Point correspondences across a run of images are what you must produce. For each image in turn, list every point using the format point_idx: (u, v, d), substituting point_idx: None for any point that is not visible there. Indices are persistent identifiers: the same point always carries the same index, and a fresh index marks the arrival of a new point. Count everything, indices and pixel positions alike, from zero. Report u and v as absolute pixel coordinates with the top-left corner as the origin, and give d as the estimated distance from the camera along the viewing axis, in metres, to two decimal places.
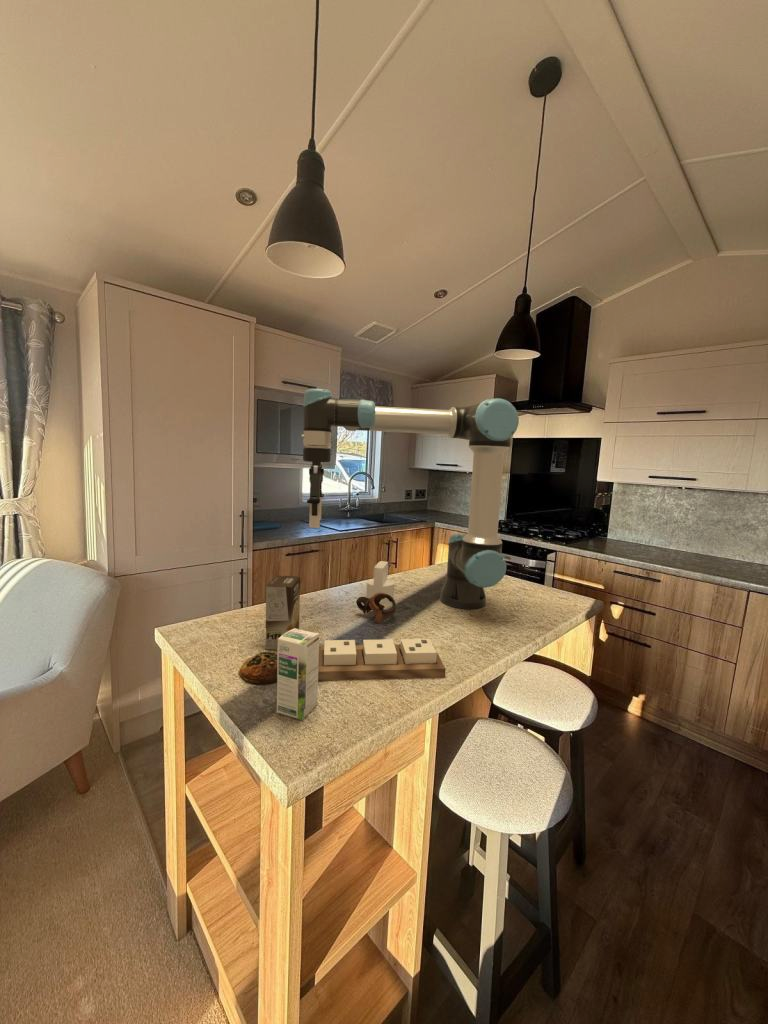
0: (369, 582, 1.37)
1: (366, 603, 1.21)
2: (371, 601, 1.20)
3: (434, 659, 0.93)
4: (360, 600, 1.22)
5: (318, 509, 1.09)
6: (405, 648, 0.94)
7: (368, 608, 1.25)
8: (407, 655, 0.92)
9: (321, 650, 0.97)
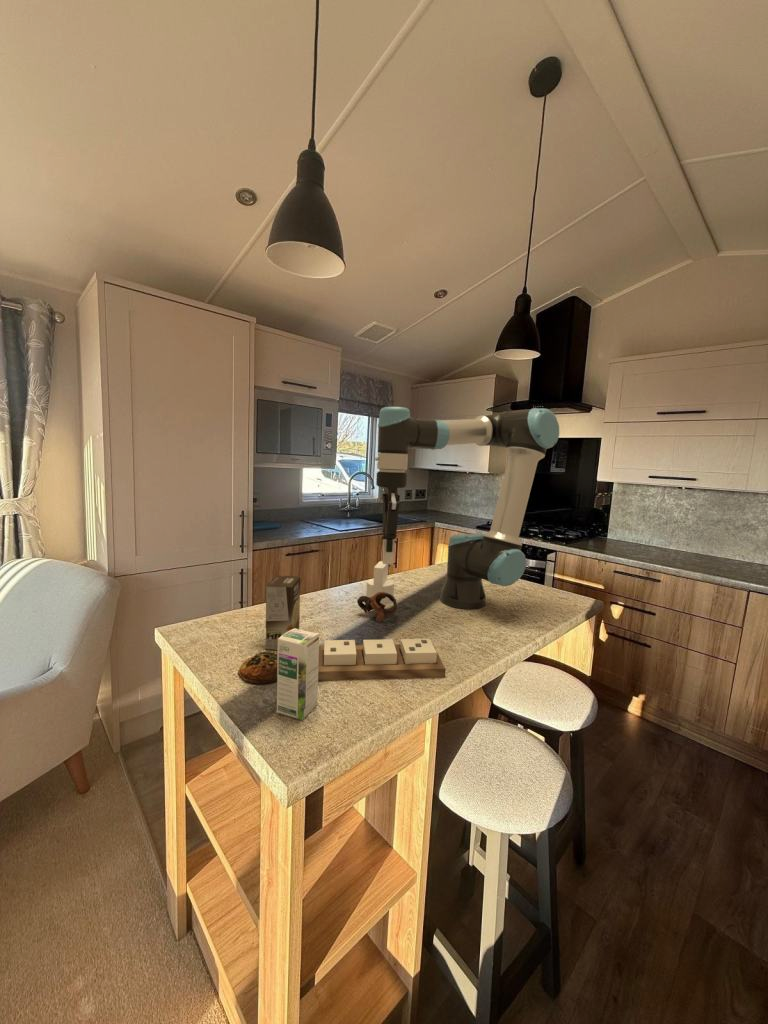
0: (369, 582, 1.37)
1: (367, 602, 1.22)
2: (372, 600, 1.21)
3: (434, 659, 0.93)
4: (361, 599, 1.22)
5: (392, 545, 1.05)
6: (405, 648, 0.94)
7: (369, 607, 1.26)
8: (407, 655, 0.92)
9: (321, 650, 0.97)
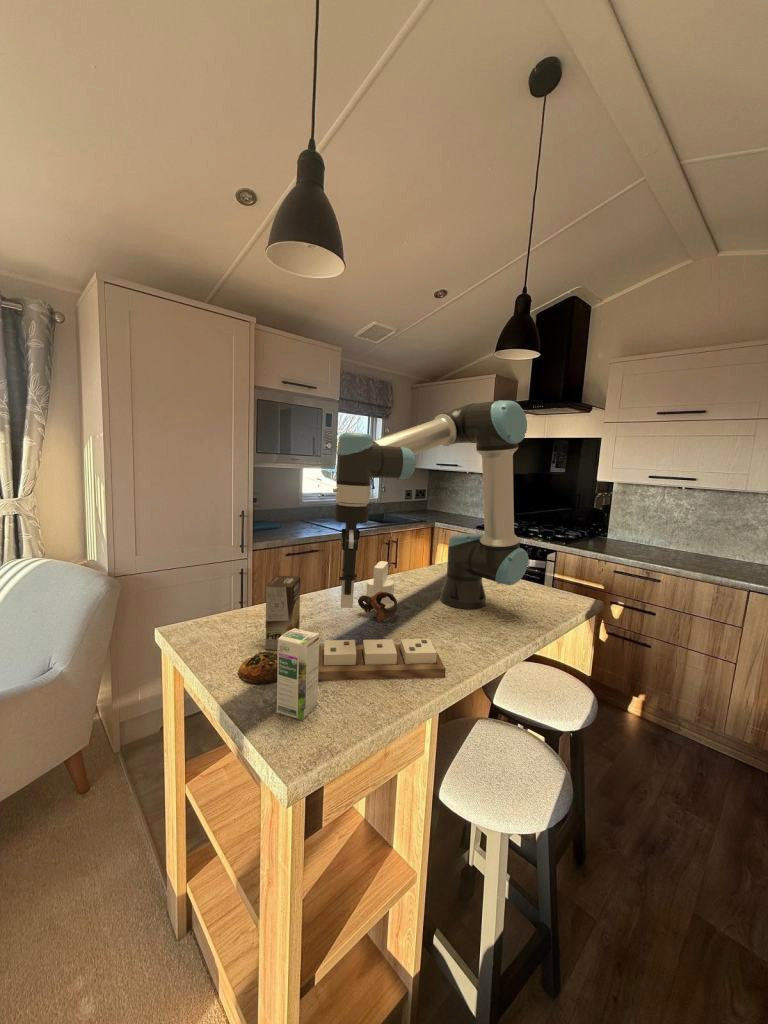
0: (369, 582, 1.37)
1: (368, 602, 1.22)
2: (373, 600, 1.21)
3: (434, 659, 0.93)
4: (362, 599, 1.23)
5: (352, 586, 0.93)
6: (405, 648, 0.94)
7: (369, 607, 1.26)
8: (407, 655, 0.92)
9: (321, 650, 0.97)
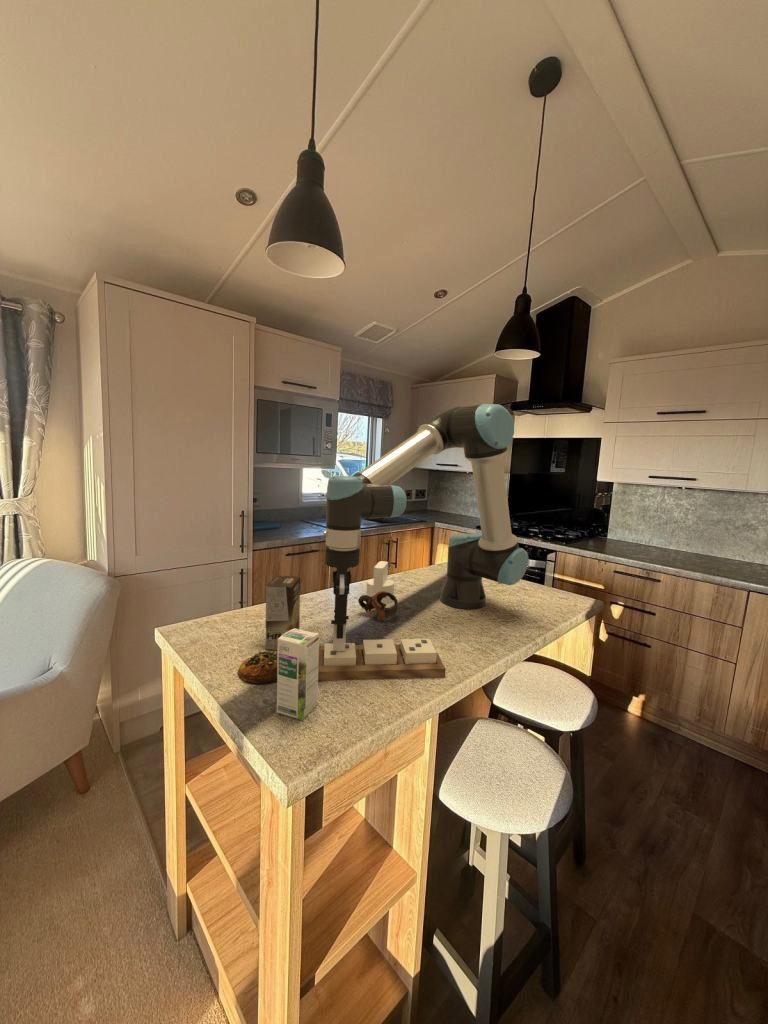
0: (369, 582, 1.37)
1: (368, 601, 1.22)
2: (373, 599, 1.21)
3: (434, 659, 0.93)
4: (362, 598, 1.23)
5: (344, 630, 0.92)
6: (405, 648, 0.94)
7: (370, 606, 1.27)
8: (407, 655, 0.92)
9: (321, 650, 0.97)
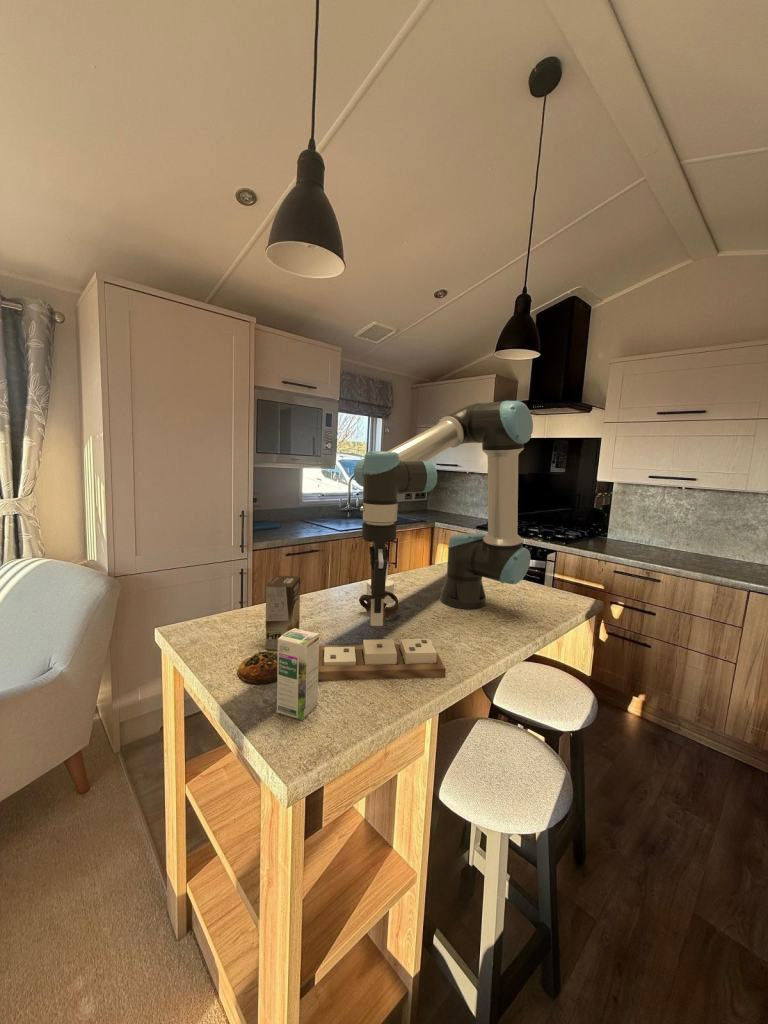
0: (369, 582, 1.37)
1: (369, 601, 1.23)
2: None
3: (434, 659, 0.93)
4: (363, 598, 1.23)
5: (381, 604, 0.93)
6: (405, 648, 0.94)
7: None
8: (407, 655, 0.92)
9: (321, 650, 0.97)
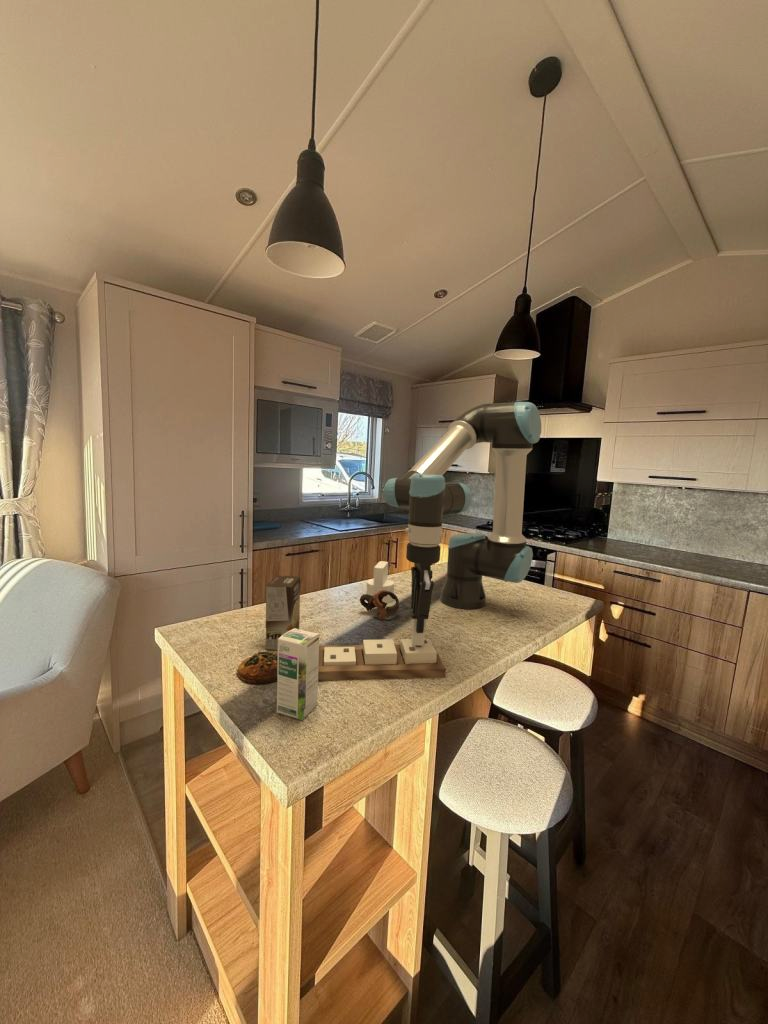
0: (369, 582, 1.37)
1: (370, 600, 1.23)
2: (375, 598, 1.22)
3: (434, 659, 0.93)
4: (364, 598, 1.24)
5: (423, 624, 0.94)
6: (405, 648, 0.94)
7: (371, 605, 1.28)
8: (407, 655, 0.92)
9: (321, 650, 0.97)
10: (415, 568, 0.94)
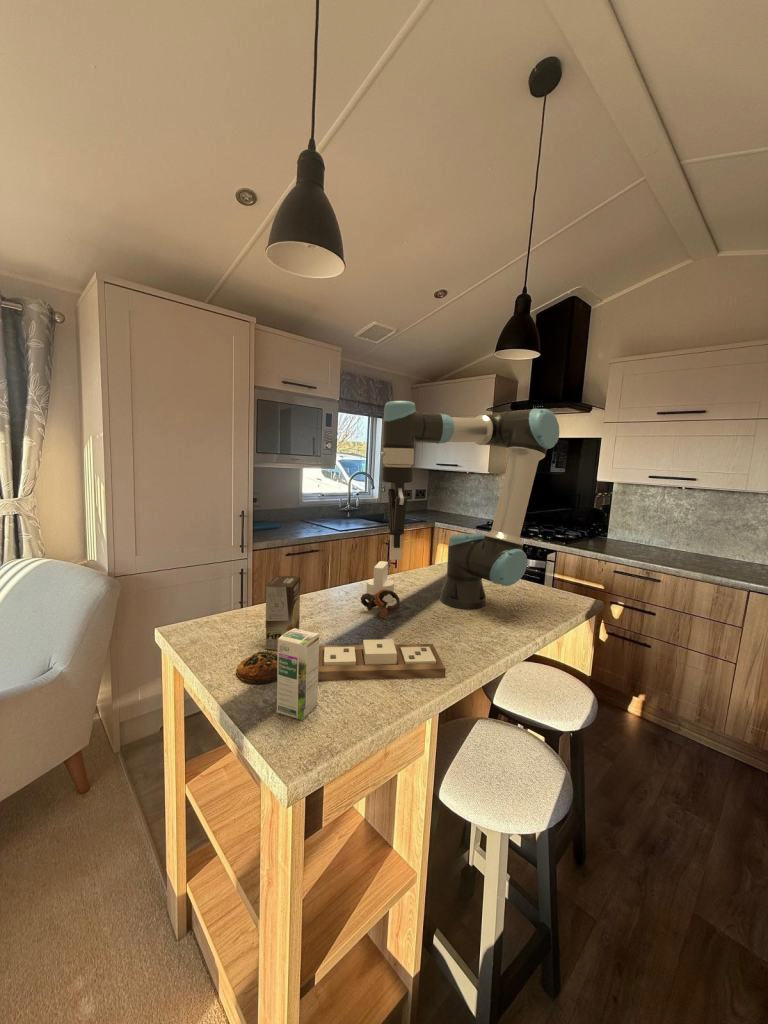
0: (369, 582, 1.37)
1: (371, 600, 1.24)
2: (376, 598, 1.23)
3: None
4: (365, 597, 1.24)
5: (400, 540, 1.04)
6: (405, 656, 0.94)
7: (372, 605, 1.28)
8: (407, 663, 0.92)
9: (321, 650, 0.97)
10: (391, 489, 1.03)
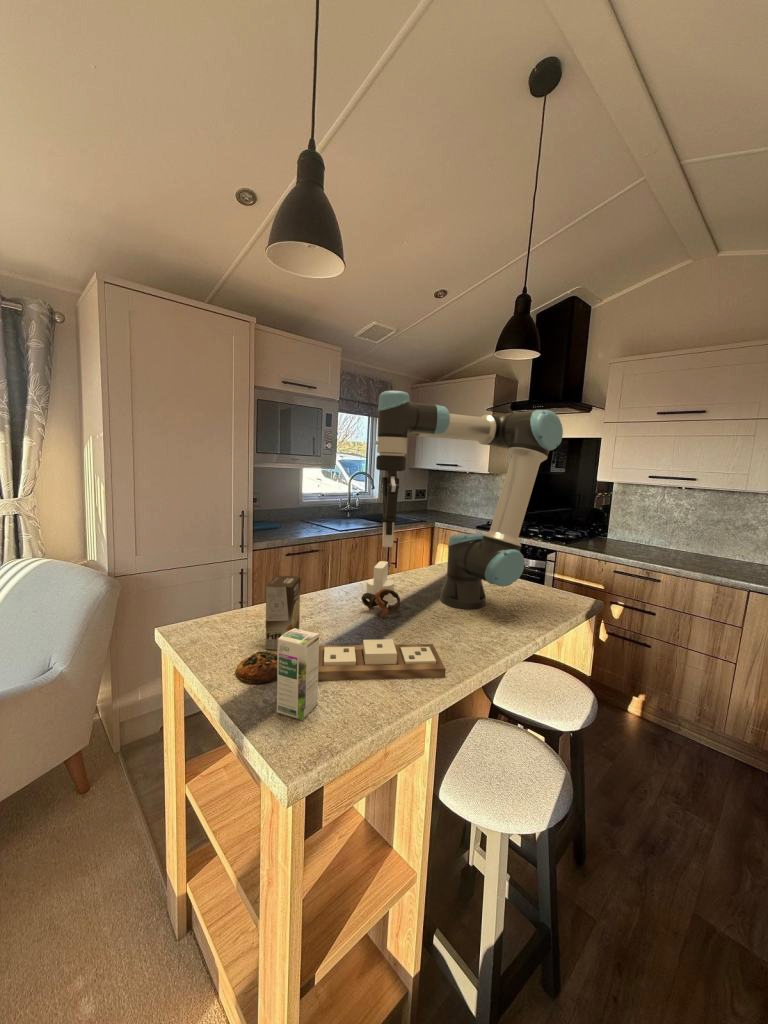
0: (369, 582, 1.37)
1: (372, 599, 1.25)
2: (377, 597, 1.24)
3: None
4: (366, 596, 1.25)
5: (392, 528, 1.06)
6: (405, 656, 0.94)
7: (372, 604, 1.29)
8: (407, 663, 0.92)
9: (321, 650, 0.97)
10: (384, 478, 1.06)
